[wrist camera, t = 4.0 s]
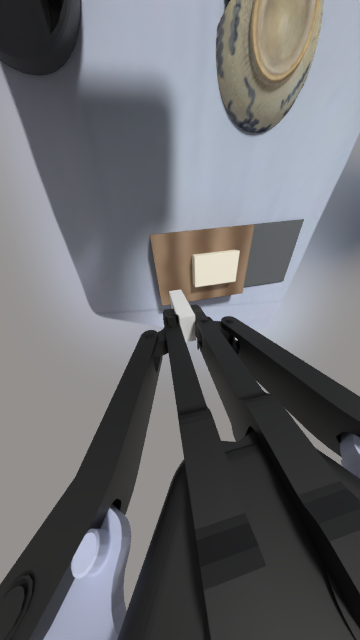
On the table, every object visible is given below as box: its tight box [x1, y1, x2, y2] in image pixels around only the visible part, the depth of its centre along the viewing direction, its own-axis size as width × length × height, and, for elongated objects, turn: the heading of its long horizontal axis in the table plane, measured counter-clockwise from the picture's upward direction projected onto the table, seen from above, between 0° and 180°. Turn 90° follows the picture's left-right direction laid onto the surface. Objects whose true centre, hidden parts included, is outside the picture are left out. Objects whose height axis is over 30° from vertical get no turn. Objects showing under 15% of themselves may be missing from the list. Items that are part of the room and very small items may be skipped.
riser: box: [150, 224, 255, 306], centre depth 30 cm, size 20×14×4 cm
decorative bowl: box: [216, 0, 324, 133], centre depth 17 cm, size 15×4×15 cm
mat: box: [243, 219, 304, 287], centre depth 34 cm, size 14×14×1 cm
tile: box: [192, 250, 240, 287], centre depth 28 cm, size 9×6×2 cm, turn 95°
